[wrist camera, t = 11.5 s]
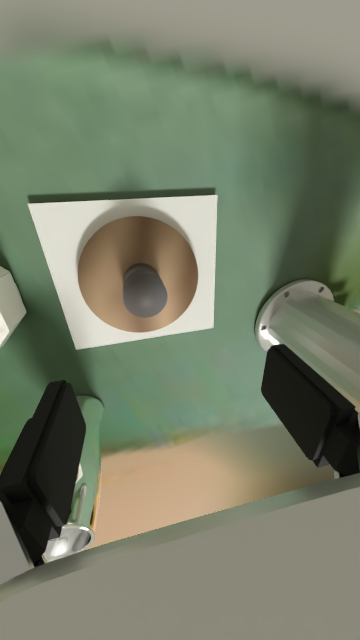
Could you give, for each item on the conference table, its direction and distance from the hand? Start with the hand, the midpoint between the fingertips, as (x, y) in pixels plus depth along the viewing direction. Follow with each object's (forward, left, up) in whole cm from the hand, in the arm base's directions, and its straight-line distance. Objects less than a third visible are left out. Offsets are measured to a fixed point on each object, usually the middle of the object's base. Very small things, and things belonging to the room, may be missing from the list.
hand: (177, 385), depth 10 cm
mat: (+1, 0, -18) cm, 18 cm away
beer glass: (+12, +19, -18) cm, 28 cm away
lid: (0, 0, -17) cm, 17 cm away
